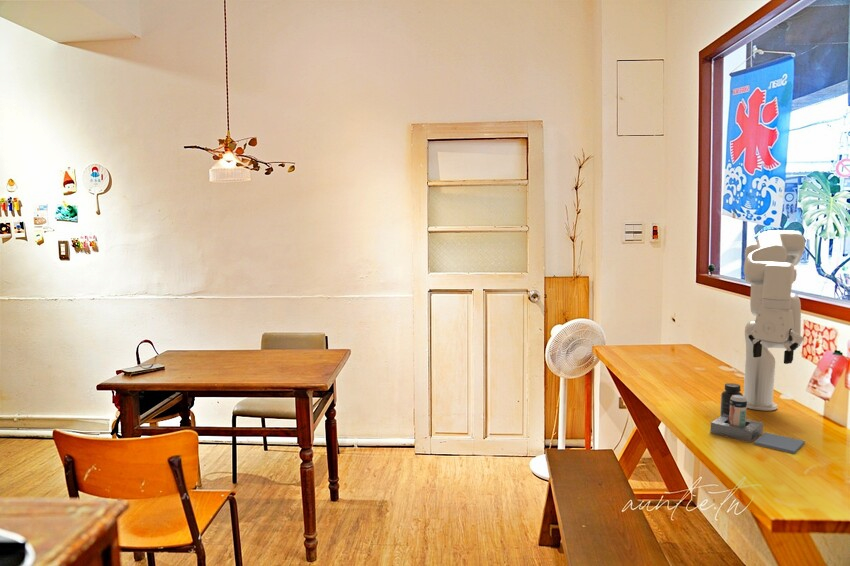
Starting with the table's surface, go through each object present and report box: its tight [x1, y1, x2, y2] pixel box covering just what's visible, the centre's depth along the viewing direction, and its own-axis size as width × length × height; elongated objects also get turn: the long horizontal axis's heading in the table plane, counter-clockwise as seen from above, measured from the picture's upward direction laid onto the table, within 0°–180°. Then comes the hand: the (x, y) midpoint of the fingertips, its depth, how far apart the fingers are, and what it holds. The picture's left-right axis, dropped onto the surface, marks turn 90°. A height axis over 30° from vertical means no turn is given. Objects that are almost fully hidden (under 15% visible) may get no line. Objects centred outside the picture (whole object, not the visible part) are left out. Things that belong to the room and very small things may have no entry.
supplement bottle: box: [719, 382, 744, 417], centre depth 213 cm, size 7×7×12 cm
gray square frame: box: [709, 414, 764, 443], centre depth 199 cm, size 12×12×4 cm
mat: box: [753, 432, 806, 455], centre depth 190 cm, size 12×11×1 cm
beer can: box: [729, 394, 748, 427], centre depth 198 cm, size 5×5×12 cm
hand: (772, 360), depth 191 cm, fingers open, 9 cm apart
